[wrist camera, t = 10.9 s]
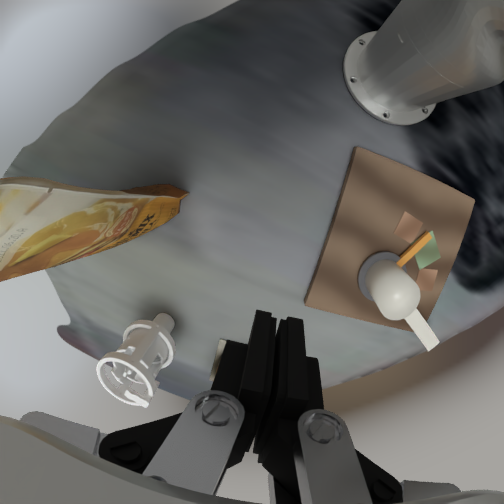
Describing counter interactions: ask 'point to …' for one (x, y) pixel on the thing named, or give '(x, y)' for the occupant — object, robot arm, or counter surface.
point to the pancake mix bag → (73, 220)
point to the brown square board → (388, 235)
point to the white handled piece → (396, 289)
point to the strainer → (139, 359)
